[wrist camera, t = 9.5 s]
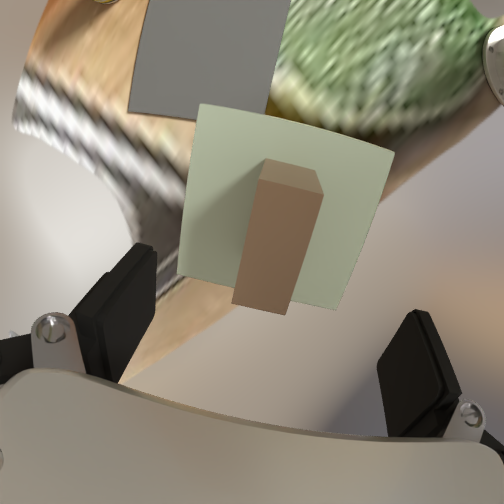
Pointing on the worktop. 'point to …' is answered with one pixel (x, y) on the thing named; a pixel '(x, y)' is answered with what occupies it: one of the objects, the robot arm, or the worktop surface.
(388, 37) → the worktop surface
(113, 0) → the supplement bottle
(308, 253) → the lid
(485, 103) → the worktop surface
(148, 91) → the mat
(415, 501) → the robot arm
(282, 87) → the worktop surface
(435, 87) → the worktop surface
